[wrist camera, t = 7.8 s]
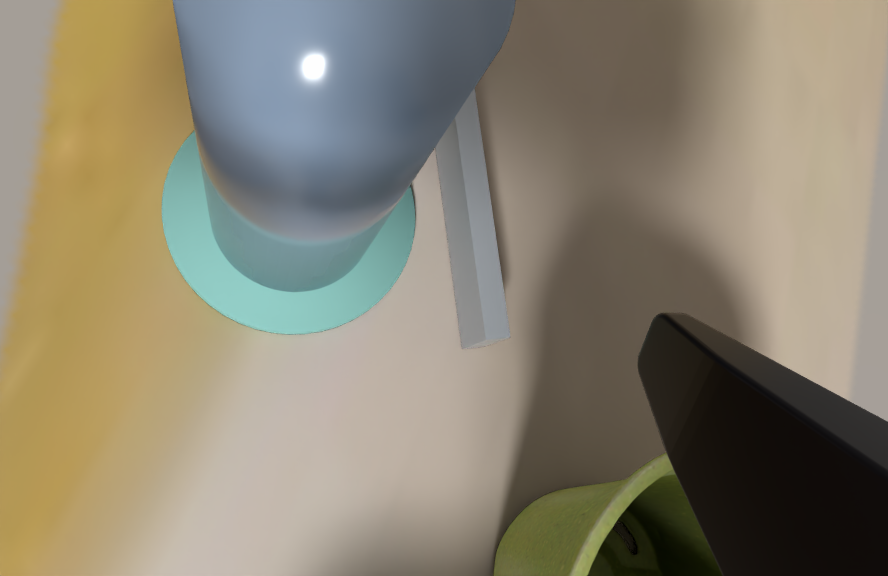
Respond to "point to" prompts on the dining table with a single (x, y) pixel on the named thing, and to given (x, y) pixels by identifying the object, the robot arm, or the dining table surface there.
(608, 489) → the plant pot
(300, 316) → the coaster
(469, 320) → the acrylic wall
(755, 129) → the dining table surface
